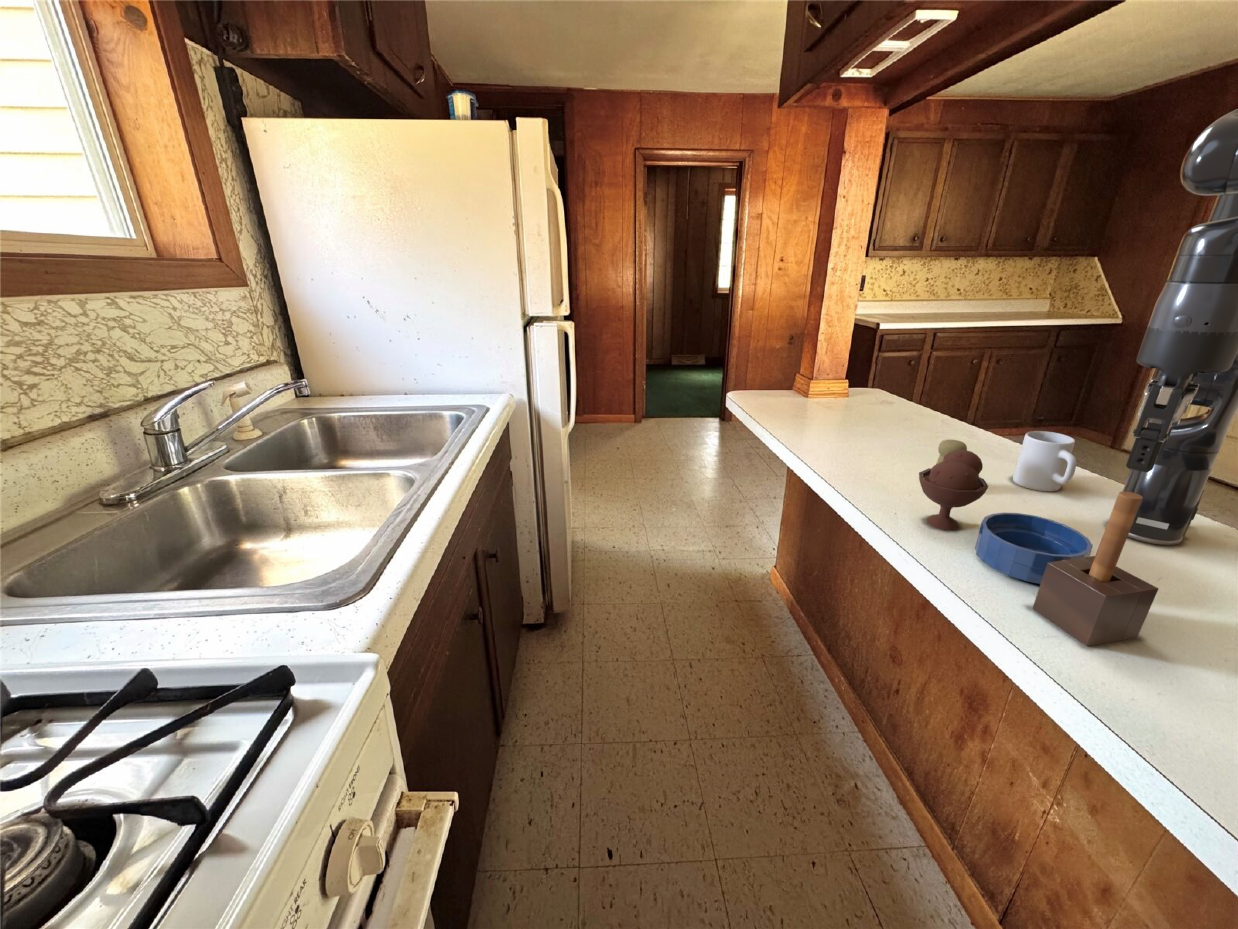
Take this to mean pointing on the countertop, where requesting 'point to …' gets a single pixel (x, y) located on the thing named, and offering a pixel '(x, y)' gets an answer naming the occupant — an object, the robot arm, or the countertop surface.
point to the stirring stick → (1115, 535)
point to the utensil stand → (1093, 601)
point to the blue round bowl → (1027, 544)
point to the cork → (949, 448)
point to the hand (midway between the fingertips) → (1144, 460)
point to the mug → (1045, 461)
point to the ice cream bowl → (952, 486)
